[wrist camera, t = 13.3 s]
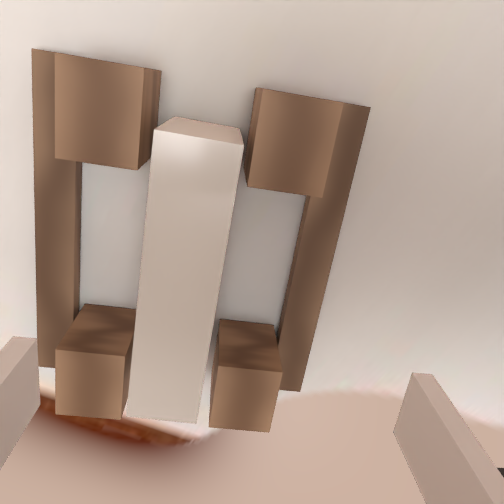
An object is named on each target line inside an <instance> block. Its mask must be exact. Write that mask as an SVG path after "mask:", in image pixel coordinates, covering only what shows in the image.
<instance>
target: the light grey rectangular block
mask: <svg viewBox="0 0 504 504" xmlns="http://www.w3.org/2000/svg"><path fill="white" fill-rule="evenodd" d="M243 149H244V143H243V139H242V136H241V132H240V128H236V127H230V126H225V125H219V124H214V123H208V122H203V121H198V120H192V119H187V118H181V117H176V116H174V117H173V118H171V119H169V120H168V121H166V122H165V123H163V124H162V125H160V126H158V127H157V128H155V129H154V133H153V144H152V154H151V164H150V175H149V185H148V195H147V206H146V216H145V226H144V237H143V247H142V258H141V268H140V278H139V289H138V299H137V309H136V320H135V330H134V340H133V351H132V361H131V371H130V382H129V392H128V402H127V413H126V417H135V418H145V419H155V420H164V421H174V422H184V423H194V424H196V423H197V417H198V411H199V406H200V400H201V394H202V388H203V382H204V376H205V371H206V365H207V359H208V353H209V347H210V341H211V336H212V330H213V324H214V318H215V312H216V307H217V301H218V295H219V289H220V283H221V277H222V272H223V266H224V260H225V254H226V248H227V243H228V237H229V231H230V225H231V219H232V213H233V208H234V202H235V196H236V190H237V184H238V178H239V173H240V167H241V161H242V155H243Z"/></svg>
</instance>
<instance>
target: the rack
mask: <svg viewBox="0 0 504 504" xmlns="http://www.w3.org/2000/svg"><path fill="white" fill-rule="evenodd" d="M160 83H161V71H159V70H153V69H148V68H142V67H137V66H131V65H125V64H119V63H114V62H108V61H102V60H97V59H91V58H85V57H79V56H74V55H68V54H62V53H56V52H50V51H44V50H38V49H32V98H33V148H34V198H35V248H36V299H37V349H38V366H40V367H50V368H55V390H56V414H60V415H72V416H83V417H95V418H107V419H118V420H121V418H122V414H123V411H124V408H125V405H126V402H127V399H128V392H129V382H130V371H131V361H132V351H133V340H134V330H135V320H136V309H127V308H119V307H110V306H101V305H92V304H84V306H83V307H82V309H81V311H80V312H79V283H80V233H81V183H82V162H84V163H91V164H98V165H104V166H111V167H118V168H125V169H131V170H138V169H139V168H140V167H141V166H142V165H143V164H144V163H146V162H147V161H148V160H149V159H150V158H151V154H152V144H153V133H154V129H155V128H157V120H158V108H159V95H160ZM370 108H371V107H365V106H359V105H354V104H348V103H343V102H337V101H332V100H326V99H320V98H314V97H309V96H303V95H297V94H292V93H286V92H280V91H274V90H269V89H263V88H256V89H255V96H254V102H253V109H252V115H251V122H250V128H249V135H248V141H247V148H246V154H245V161H244V172H245V177H246V182H247V187H253V188H259V189H266V190H273V191H280V192H286V193H293V194H300V195H307V196H306V201H305V205H304V210H303V215H302V219H301V224H300V229H299V233H298V238H297V243H296V248H295V252H294V257H293V262H292V266H291V271H290V276H289V281H288V285H287V290H286V295H285V299H284V304H283V309H282V314H281V318H280V323H279V328H278V332H277V337H276V335H275V330H274V325H268V324H259V323H251V322H242V321H233V320H224V319H220V322H219V329H218V335H217V342H216V348H215V354H214V361H213V367H212V376H211V394H210V413H209V427H212V428H223V429H235V430H247V431H258V432H269V431H270V427H271V422H272V417H273V413H274V409H275V405H276V400H277V396H278V391H279V390H287V391H297V392H300V390H301V386H302V382H303V378H304V374H305V370H306V366H307V362H308V358H309V354H310V350H311V346H312V341H313V337H314V333H315V329H316V325H317V321H318V317H319V313H320V309H321V305H322V301H323V297H324V293H325V289H326V285H327V281H328V277H329V273H330V269H331V265H332V261H333V257H334V253H335V249H336V245H337V241H338V237H339V233H340V229H341V225H342V221H343V217H344V213H345V209H346V205H347V201H348V197H349V192H350V188H351V184H352V180H353V176H354V172H355V168H356V164H357V160H358V156H359V152H360V148H361V144H362V140H363V136H364V132H365V128H366V124H367V120H368V116H369V112H370Z"/></svg>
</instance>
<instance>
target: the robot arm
mask: <svg viewBox="0 0 504 504" xmlns="http://www.w3.org/2000/svg"><path fill="white" fill-rule="evenodd" d="M39 406H40V389H39V369H38V349H37V338H26V337H15V336H13V337H12V338H11V339H10V341H9V342H8V343H7V344H6V345H5V346H4V347H3V349H2V350H1V351H0V469H1V468H2V466H3V465H4V463H5V461H6V459H7V458H8V456H9V455H10V453H11V451H12V450H13V448H14V447H15V445H16V443H17V442H18V440H19V438H20V437H21V435H22V433H23V432H24V430H25V429H26V427H27V425H28V424H29V422H30V420H31V418H32V417H33V415H34V414H35V412H36V411H37V409H38V407H39ZM393 433H394V435H395V437H396V439H397V442H398V444H399V446H400V448H401V450H402V452H403V455H404V457H405V459H406V461H407V463H408V465H409V468H410V470H411V472H412V474H413V476H414V479H415V481H416V483H417V485H418V487H419V489H420V492H421V494H422V496H423V498H424V500H425V502H426V504H504V468H497V467H496V466H495V465H494V463H493V462H492V460H491V459H490V457H489V456H488V454H487V453H486V452H485V450H484V449H483V447H482V446H481V444H480V443H479V441H478V440H477V439H476V437H475V436H474V434H473V433H472V431H471V430H470V428H469V427H468V425H467V424H466V422H465V421H464V420H463V418H462V417H461V415H460V414H459V412H458V411H457V409H456V408H455V407H454V405H453V404H452V402H451V401H450V399H449V398H448V396H447V395H446V393H445V392H444V391H443V389H442V388H441V386H440V385H439V383H438V382H437V380H436V379H435V378H434V376H433V375H432V374H422V373H412V375H411V378H410V381H409V384H408V387H407V390H406V393H405V397H404V400H403V403H402V406H401V409H400V412H399V416H398V419H397V422H396V425H395V428H394V431H393Z"/></svg>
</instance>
